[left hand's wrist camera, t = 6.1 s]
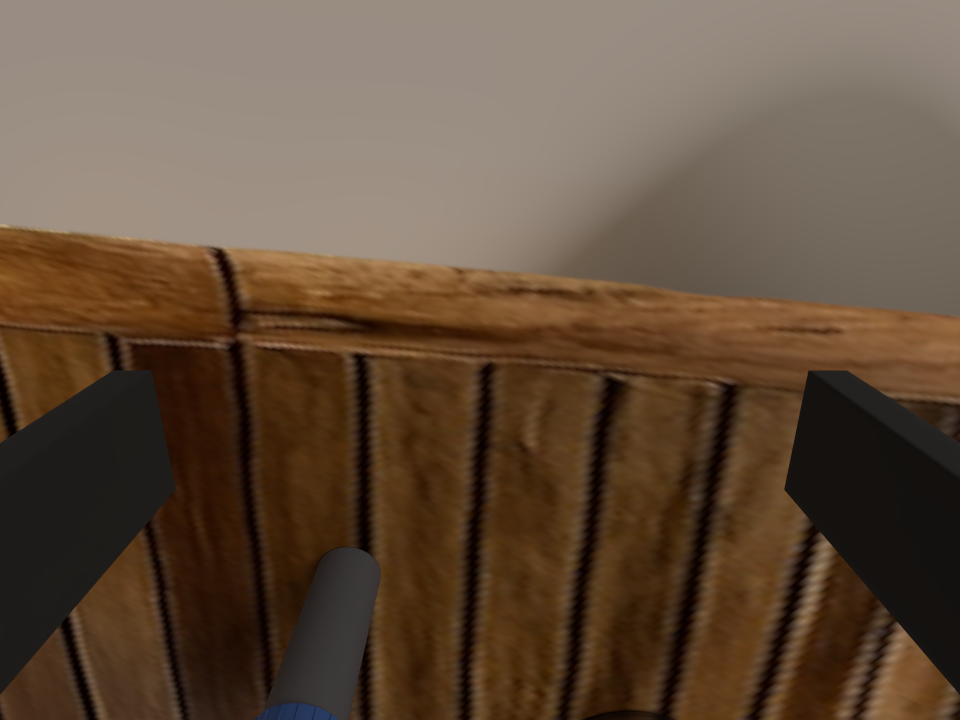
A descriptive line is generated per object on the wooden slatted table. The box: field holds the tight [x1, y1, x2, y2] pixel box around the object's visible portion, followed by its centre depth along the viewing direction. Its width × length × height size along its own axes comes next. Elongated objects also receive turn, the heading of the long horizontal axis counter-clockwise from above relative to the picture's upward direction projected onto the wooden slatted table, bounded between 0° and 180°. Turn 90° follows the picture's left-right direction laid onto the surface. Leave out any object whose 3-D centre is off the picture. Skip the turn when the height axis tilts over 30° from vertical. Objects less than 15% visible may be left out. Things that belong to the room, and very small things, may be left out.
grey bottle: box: [264, 547, 380, 720], centre depth 40 cm, size 5×5×16 cm
